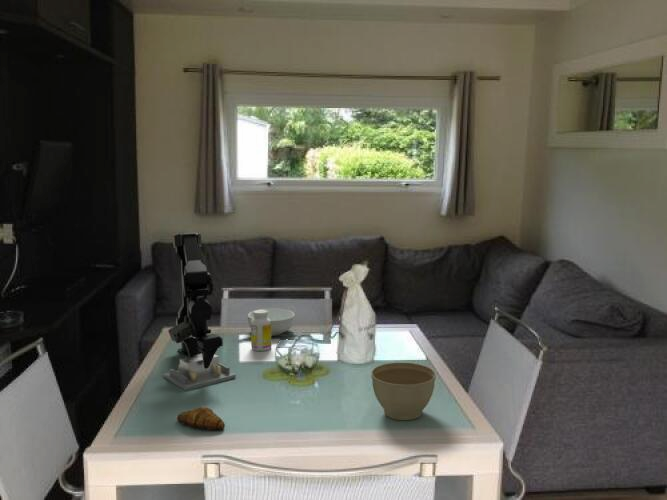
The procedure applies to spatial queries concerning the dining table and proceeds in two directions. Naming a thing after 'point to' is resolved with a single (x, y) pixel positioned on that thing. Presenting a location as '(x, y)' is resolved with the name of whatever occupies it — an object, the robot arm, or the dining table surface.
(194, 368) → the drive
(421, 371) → the planter bowl
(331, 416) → the dining table surface
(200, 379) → the tray
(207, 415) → the croissant
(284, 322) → the cereal bowl
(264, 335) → the supplement bottle
